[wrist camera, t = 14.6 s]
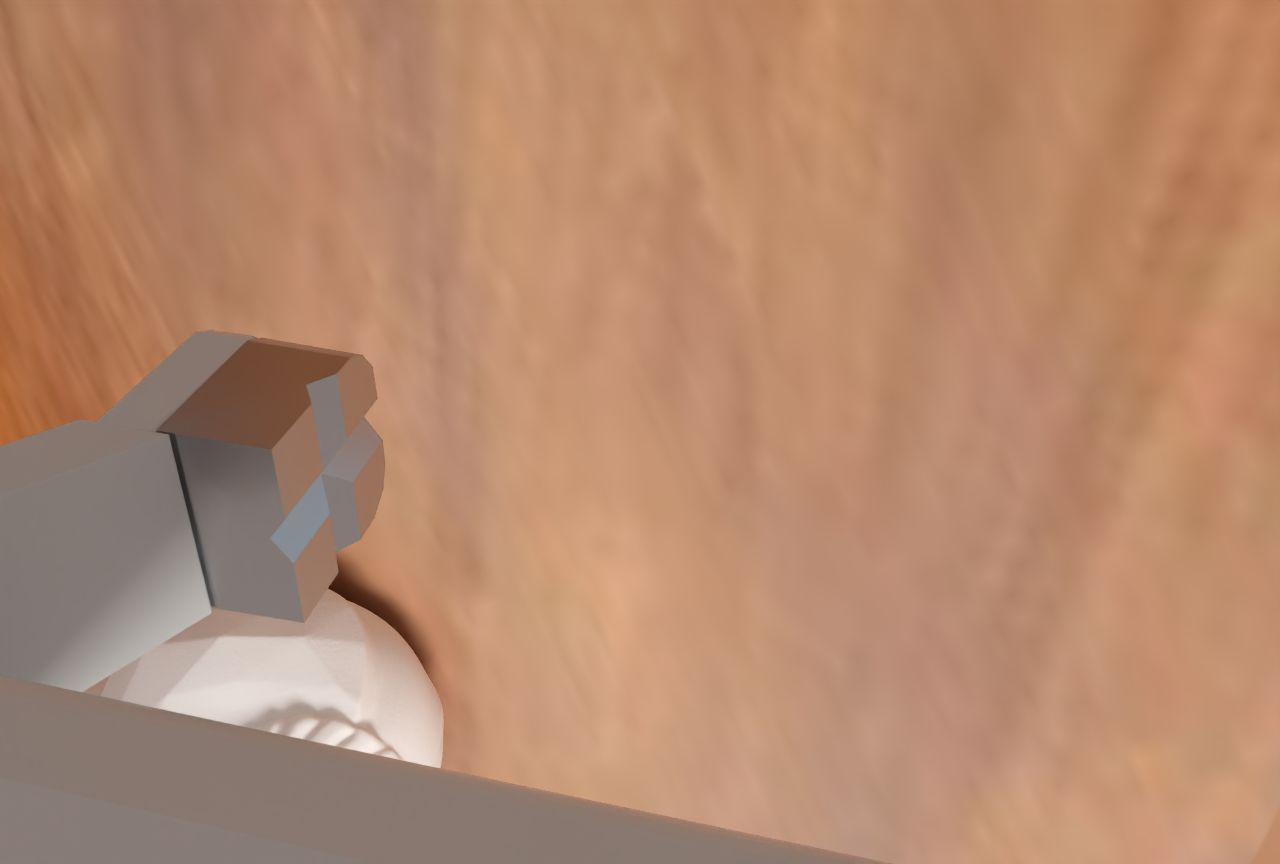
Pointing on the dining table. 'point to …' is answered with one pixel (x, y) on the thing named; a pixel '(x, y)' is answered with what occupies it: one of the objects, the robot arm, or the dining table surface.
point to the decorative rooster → (295, 680)
